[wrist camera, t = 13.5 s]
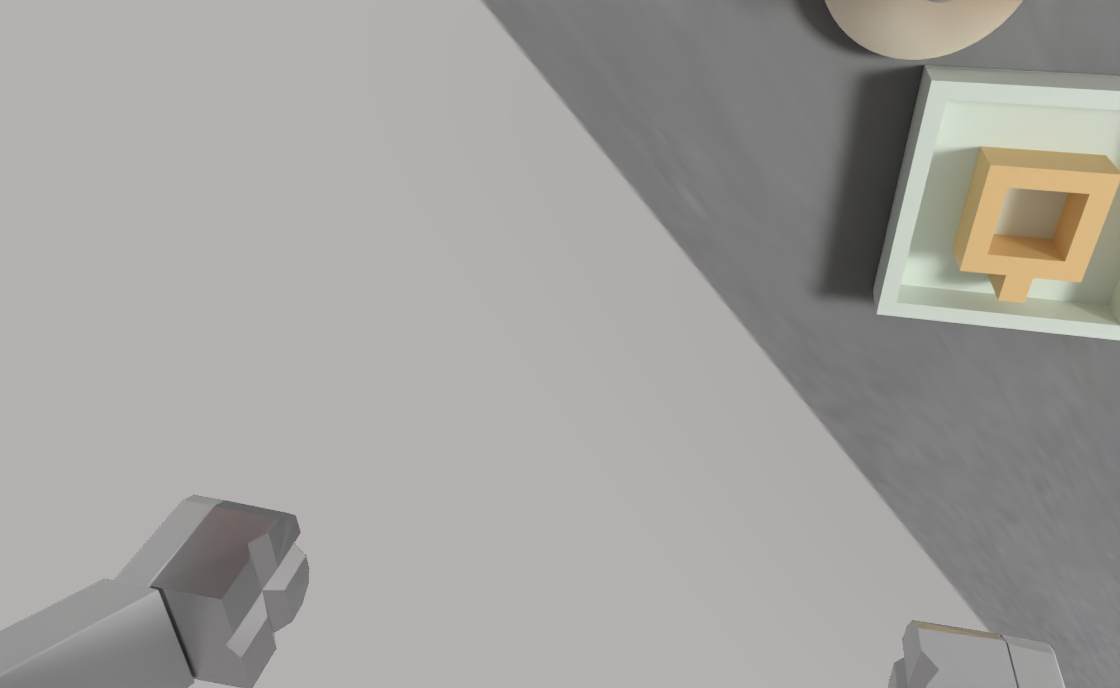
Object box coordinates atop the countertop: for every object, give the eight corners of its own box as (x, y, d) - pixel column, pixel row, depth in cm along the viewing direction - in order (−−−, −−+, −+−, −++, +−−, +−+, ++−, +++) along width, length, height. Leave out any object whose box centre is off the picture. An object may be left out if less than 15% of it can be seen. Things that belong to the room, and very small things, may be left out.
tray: (924, 64, 39) (931, 80, 37) (1215, 80, 37) (1239, 98, 35) (872, 290, 46) (876, 314, 44) (1116, 315, 44) (1132, 341, 42)
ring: (980, 146, 40) (990, 165, 38) (1106, 155, 39) (1122, 174, 37) (945, 273, 44) (952, 295, 42) (1058, 284, 43) (1071, 307, 41)
